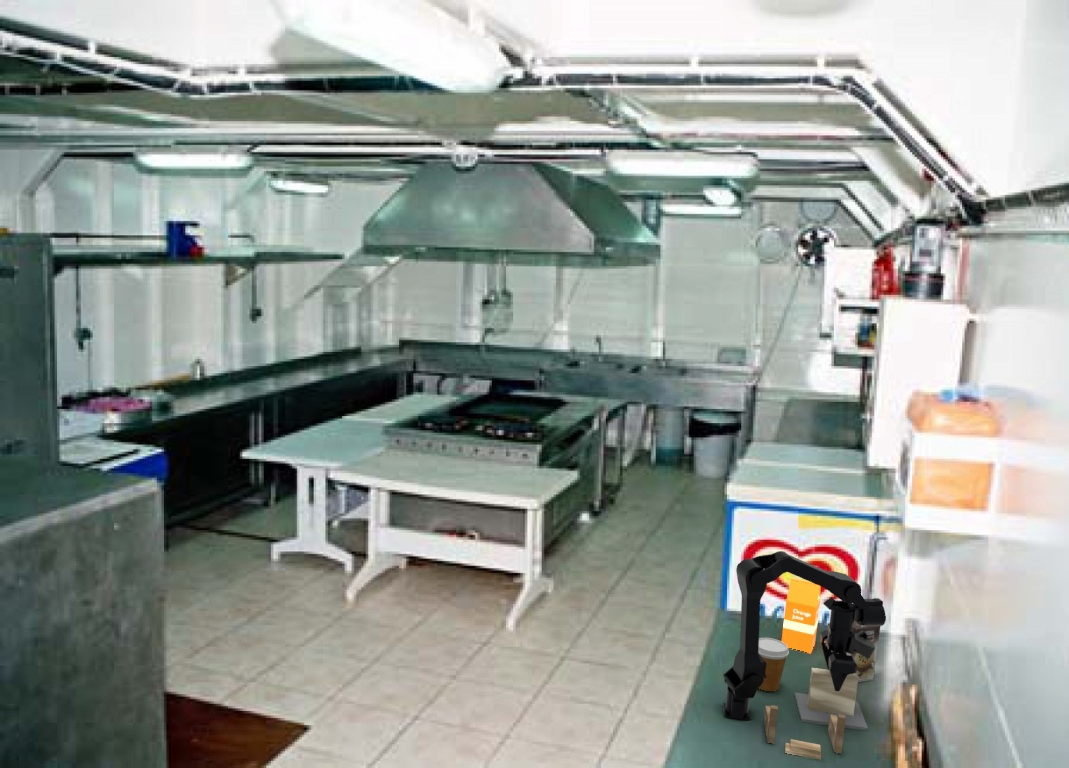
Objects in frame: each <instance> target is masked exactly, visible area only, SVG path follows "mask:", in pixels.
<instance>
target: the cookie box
mask: <svg viewBox="0 0 1069 768" xmlns="http://www.w3.org/2000/svg"><path fill="white" fill-rule="evenodd" d="M881 627H882V626H860V625H858V623H857V622H856V621H855V620H854V624H853V632H854V633H858V632H859V631H861V630H862V631H864V632H866V633H867V635H868V640H870V641H871V642H872V643H873V644H874V646H875V650H874V652H873V654H872V655H871V657H870V659H867V658H865V656H863V655H861V654H859V653H856V652H855V651H854V653H853V654H850V653H848V652H846V654H847V655H850V656H852V657H853V658H854V659H855V661H856V663H857V673H856V675H857V677H858V683H861V682H867V681H873V680H874V675H875V669H876V660H877V652H878V646H879V639H880V632H881Z"/></svg>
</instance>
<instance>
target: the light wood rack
mask: <svg viewBox="0 0 1069 768" xmlns="http://www.w3.org/2000/svg"><path fill="white" fill-rule="evenodd" d="M778 712H779V708H778V706H777V705H765V709H764V717H763V726H764V725H765V727H764V732H765V731H766V733H765V737H766V736H767V738H766V743H767V742H769V743H774V744H775V739H776V738H775V737H776V732H777V731H776V730H777V720H778ZM845 721H846V718H845V715H839V714H838V719H837V716H836V715H831V714H830V719H829V726H828V729H827V733H828V737H829V739H830V743H831V746H832V748H833V752H836V753H835V754H838V753H841V754H842V750H843V744H844V743H843V741H844V735H845V729H846V728H845Z"/></svg>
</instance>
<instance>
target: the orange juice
mask: <svg viewBox="0 0 1069 768" xmlns="http://www.w3.org/2000/svg"><path fill="white" fill-rule="evenodd" d="M820 604H821V586H819V585H816V584H814V583H812V582H809V581H803V580H798V579H794V578H790V581H789V587H788V591H787V596H786V601H785V608H784V609H785V610H784V618H783V626H782V636H781V641H782V642H784V643H785V644H786V645H787V647H788V649H789V648H792V649H791V650H793V649H796V650H795V651H797V650H800V651H799V652H801V651H804V652H803V653H805V652H807V653H806V654H810V655H811V654H812V652H813V650H814V648H815V645H816V638H817V630H818V621H819V613H820ZM813 647H814V648H813Z"/></svg>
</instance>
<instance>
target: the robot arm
mask: <svg viewBox="0 0 1069 768" xmlns="http://www.w3.org/2000/svg"><path fill="white" fill-rule="evenodd" d="M735 571H736V578H737V583H738V588H739V590H740V594H741V608H740V612H741V613H740V635H739V636H740V637H739V639H740V640H739V649H738V651H737V653H736V655H735V657H734V661H733V666H731V668H729V669H728V670H727V671H725V673H724V674H722V677H723V681H724V683H725V684H726V685H727V688H726V689H727V690H726V699H725V702H723V703H722V710H723V711H722V712H723V716H724V718H731V719H736V720H737V719H738V720H743V721H744V720H746V721H751V712H750V711H751V710H750V699H754V697H755V695H756V694H757V691H758V690H759V689H758V688H759V687H760V686H761V685H762V684H763V681H764V678H767V677H766V674H765V670H766V661H765V660H764V659H763V658H762V656H761V655H760V654H759V653H758V650H759V638H760V621H761V620H760V619H761V618H760V617H761V600H762V598H763V596H764V595H765V593H766V590H767V584H770V583H772V582H775V581H776V580H778V578H779V577H781V576H782V575H784V574H785V573H789V574H792V575H793V576H796V577H798V578H801V579H803V580H805V581H806V582H809V583H813V584H816V585H819V586H820V588H821V587H822V588H824V589H825V590H826V591H828V592H830V593H831V594H832V595H833V596H835V597H837V598H838V599H839V600H838V599H835V598H834V597H830V598H828V599H826V600H824V601H823V603H822V604H823V605H824V606H825V607H826V608H827V609H828V610H830V617H829V622H828V623H827V627H826V628H827V630H825V629H824V630H823V631H821V632H820V636H819V641H820V647H821V649H822V653H823V657H824V661H825V664H826V668H827V670H830V673H831V677H832V681H833V685H834V689H835V691H840V689H841V687H842V685H843V683H844V681H845V679H846V677H847V675H849V674H854V673H857V663H856V661H855V659H854V658H853V657H852V656H850V655H847V654H846V652H848V653H850V654H853V653H854V651H855V652H856V653H859V654H861V655H863V656H865V658H867V659H870V657H871V655H872V654H873V652H874V650H875V646H874V644H873V643H872V642H871V641H870V640H868V635H867V633H866V632H864V631H862V630H861V631H859V632H858V633H854V632H853V624H854V620H855V621H856V622H857V623H858V625H860V626H881V627H883V626H884V625H885V624H886V621H887V615H886V610H885V607H884V601H883V600H882V599H881V598H878V597H877V598H876V597H874V598H865V597H863V595H862V586H861V585H860V584H859V583H858V582H857V581H856V580H854V579H853V578H852V577H850V576H849V574H847V573H842V572H839V571H832V570H825V569H822V568H820V567H818V566H815V565H813V564H810V563H809V562H807V561H805V560H802V559H799V558H798V557H795V556H792V555H790V554H788V553H787V552H786V551H784V550H778V551H776V552H774V553H773V552H772V553H770V554H763V555H762V554H761V555H757V556H755V557H752V558H744V559H742V560H741V561H740V562H738V563H737V566H736V569H735Z"/></svg>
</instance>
